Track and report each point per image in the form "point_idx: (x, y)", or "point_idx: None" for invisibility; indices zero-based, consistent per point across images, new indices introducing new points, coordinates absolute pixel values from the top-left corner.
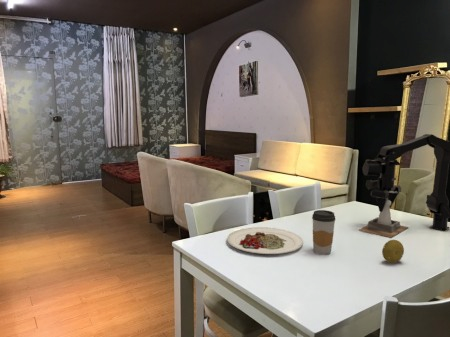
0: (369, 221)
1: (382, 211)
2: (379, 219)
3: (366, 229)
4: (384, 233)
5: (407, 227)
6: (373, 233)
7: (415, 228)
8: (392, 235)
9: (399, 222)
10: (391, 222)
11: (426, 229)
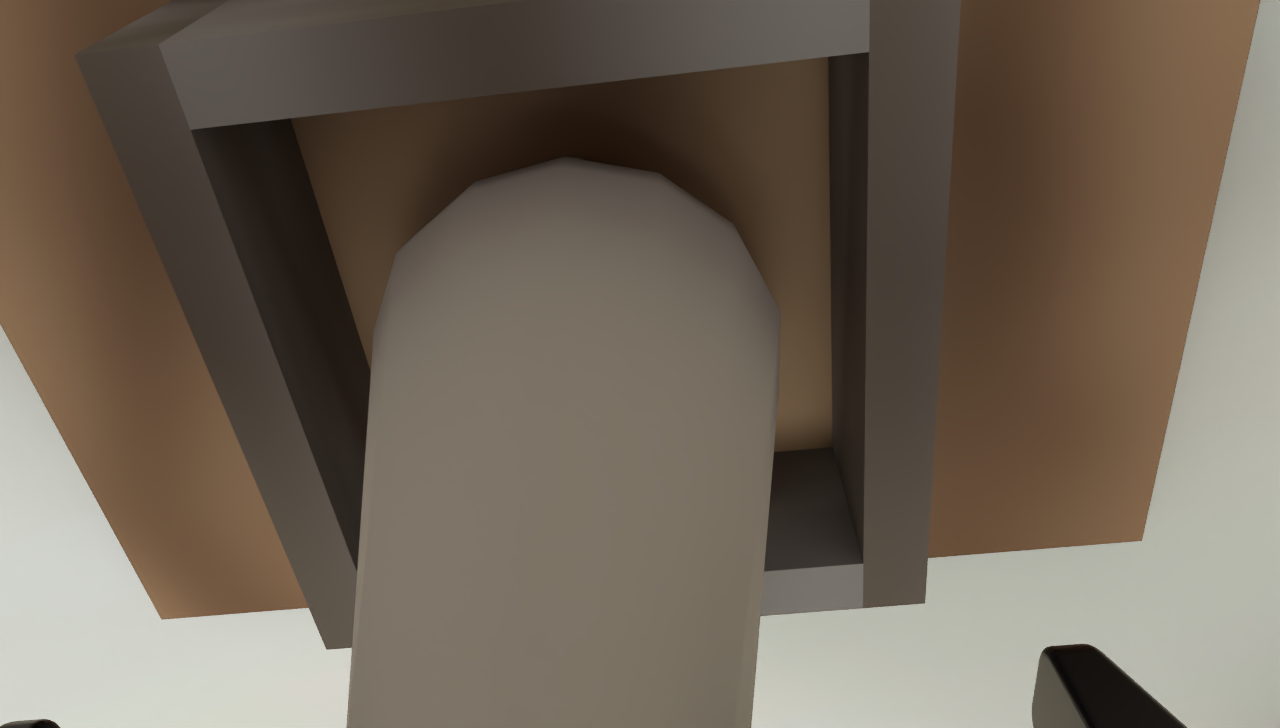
0: (129, 75)
1: (352, 652)
2: (385, 356)
3: (30, 47)
4: (231, 465)
5: (1089, 543)
6: (3, 314)
7: (1201, 601)
8: (275, 597)
9: (884, 598)
10: (851, 418)
11: (1258, 713)
